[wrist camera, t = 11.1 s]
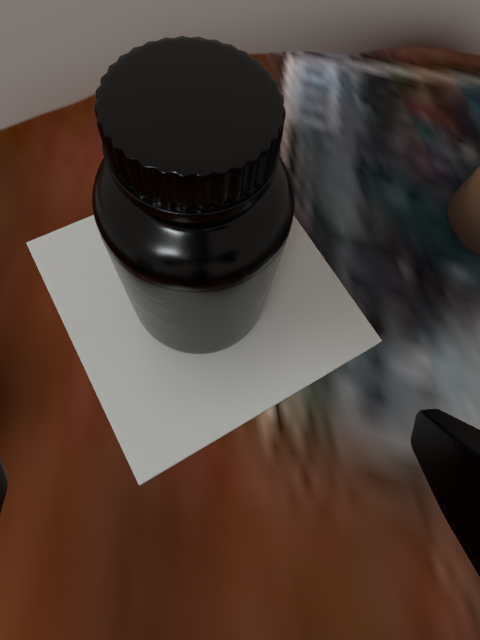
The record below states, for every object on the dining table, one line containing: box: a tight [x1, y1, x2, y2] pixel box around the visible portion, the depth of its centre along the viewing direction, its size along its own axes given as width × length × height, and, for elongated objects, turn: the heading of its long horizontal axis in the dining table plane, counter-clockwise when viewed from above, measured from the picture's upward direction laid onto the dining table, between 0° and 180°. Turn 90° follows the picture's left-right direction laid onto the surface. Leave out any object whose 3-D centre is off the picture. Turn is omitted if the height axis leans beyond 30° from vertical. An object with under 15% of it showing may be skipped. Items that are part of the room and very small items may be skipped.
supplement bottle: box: [92, 36, 295, 354], centre depth 15 cm, size 7×7×12 cm
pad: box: [26, 215, 382, 485], centre depth 22 cm, size 14×14×1 cm
